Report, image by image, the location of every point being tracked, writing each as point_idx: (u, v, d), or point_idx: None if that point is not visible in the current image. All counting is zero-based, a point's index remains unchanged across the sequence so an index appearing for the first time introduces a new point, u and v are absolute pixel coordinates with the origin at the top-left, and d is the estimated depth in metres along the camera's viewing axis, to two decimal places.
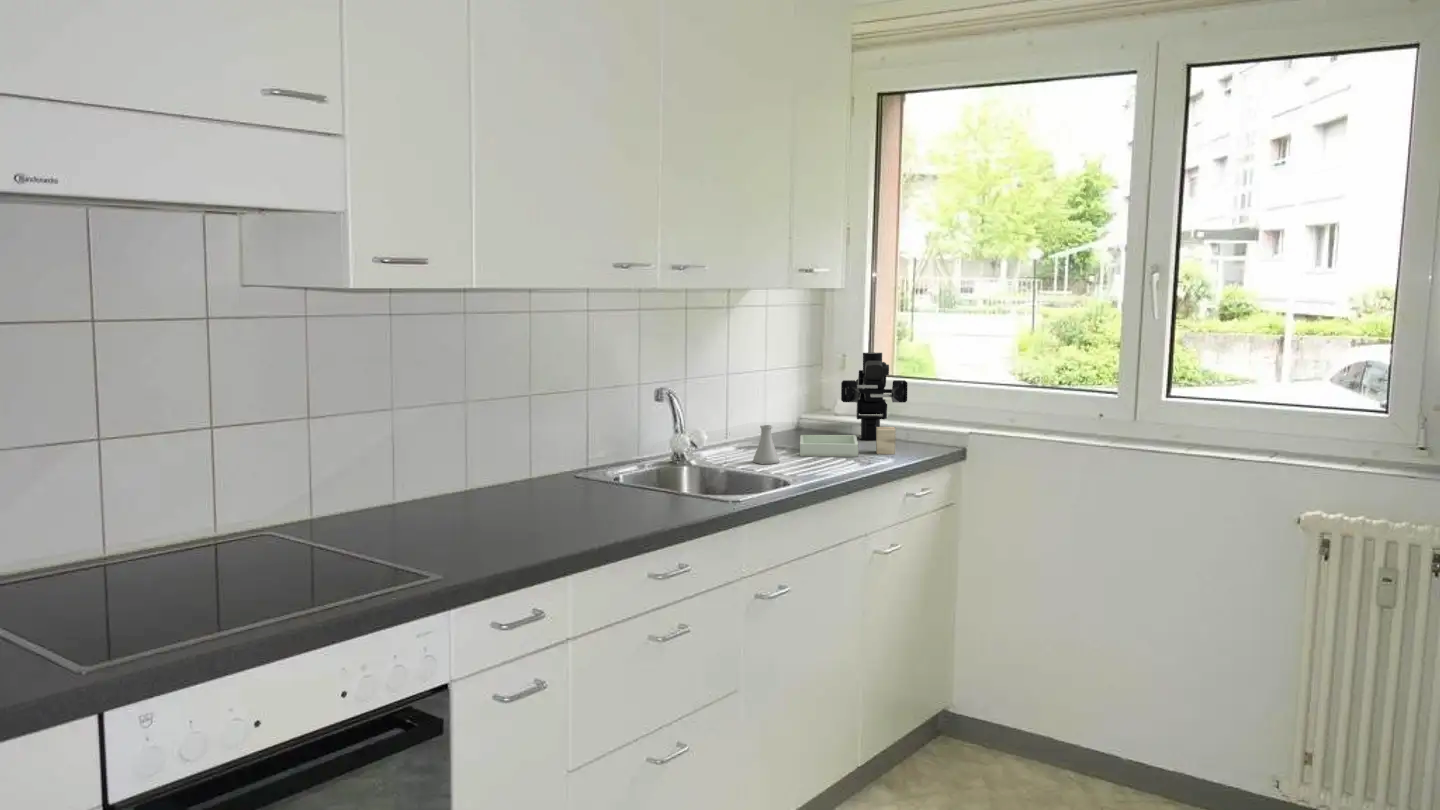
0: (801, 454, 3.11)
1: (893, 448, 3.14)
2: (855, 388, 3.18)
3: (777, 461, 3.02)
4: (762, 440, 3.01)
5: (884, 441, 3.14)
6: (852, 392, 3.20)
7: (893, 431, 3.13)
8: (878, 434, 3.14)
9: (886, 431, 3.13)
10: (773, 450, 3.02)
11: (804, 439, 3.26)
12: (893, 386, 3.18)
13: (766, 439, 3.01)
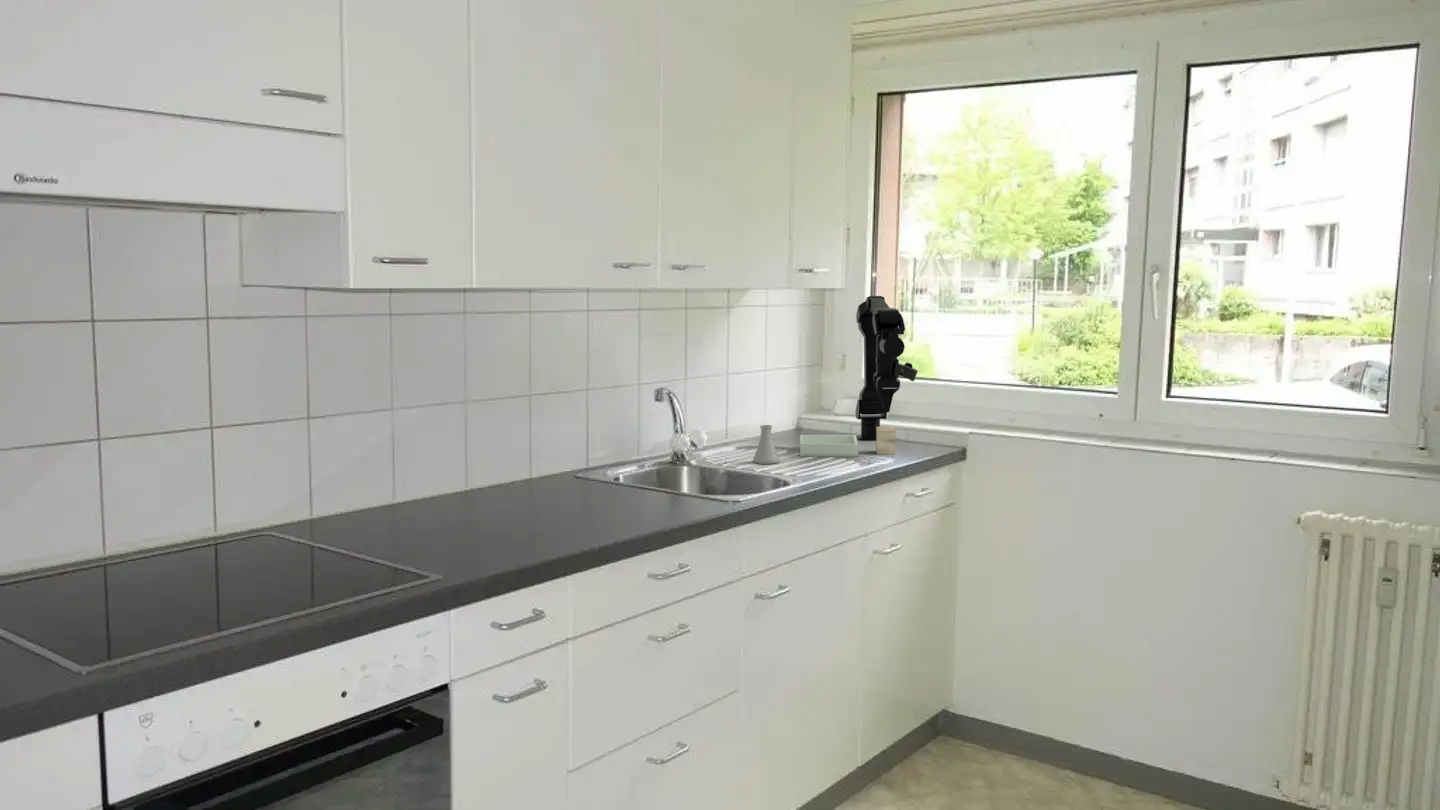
0: (801, 454, 3.11)
1: (893, 448, 3.14)
2: (892, 397, 3.09)
3: (777, 461, 3.02)
4: (762, 440, 3.01)
5: (884, 441, 3.14)
6: None
7: (893, 431, 3.13)
8: (878, 434, 3.14)
9: (886, 431, 3.13)
10: (773, 450, 3.02)
11: (804, 439, 3.26)
12: None
13: (766, 439, 3.01)
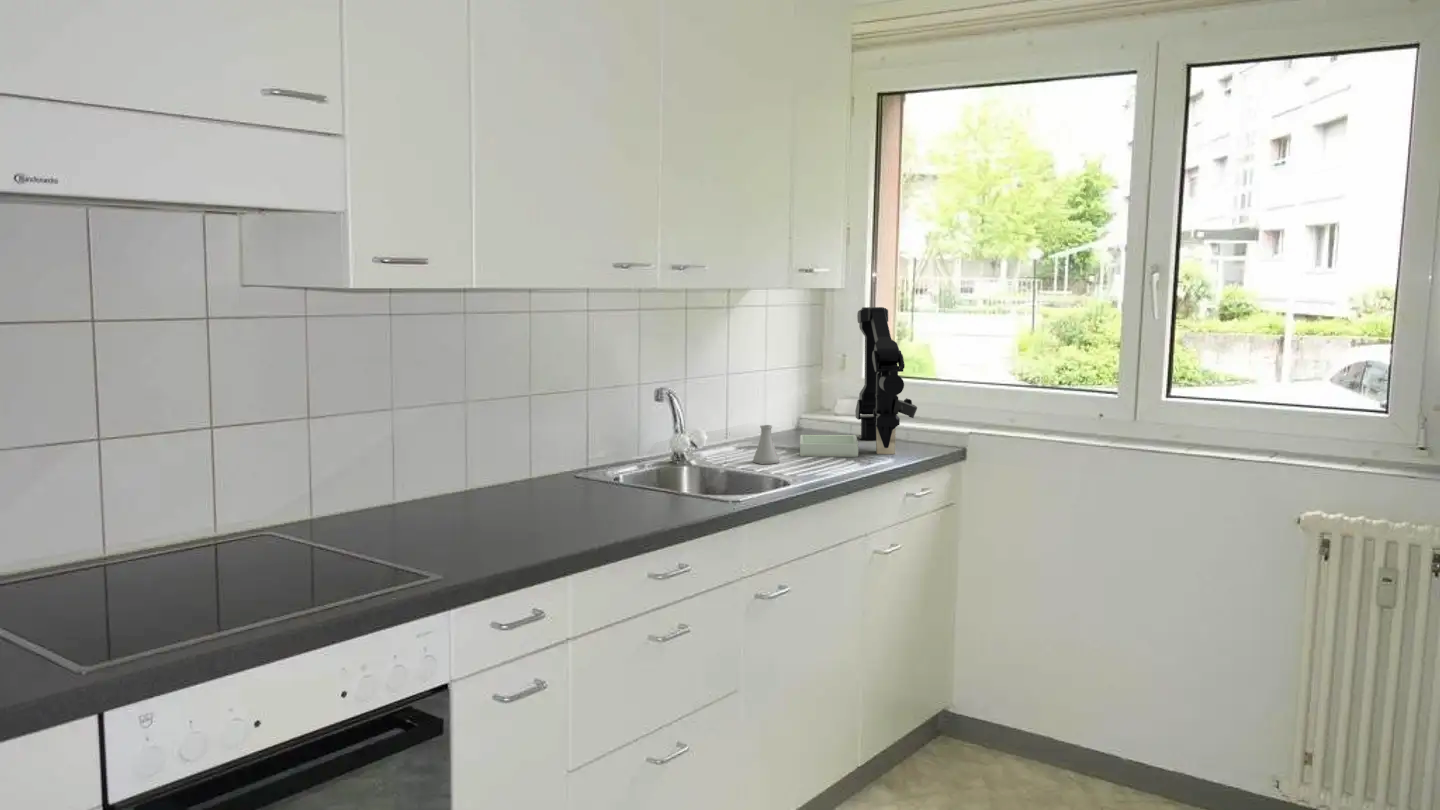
0: (801, 454, 3.11)
1: (893, 448, 3.14)
2: (891, 433, 3.12)
3: (777, 461, 3.02)
4: (762, 440, 3.01)
5: None
6: None
7: (893, 431, 3.13)
8: (878, 434, 3.14)
9: None
10: (773, 450, 3.02)
11: (804, 439, 3.26)
12: None
13: (766, 439, 3.01)
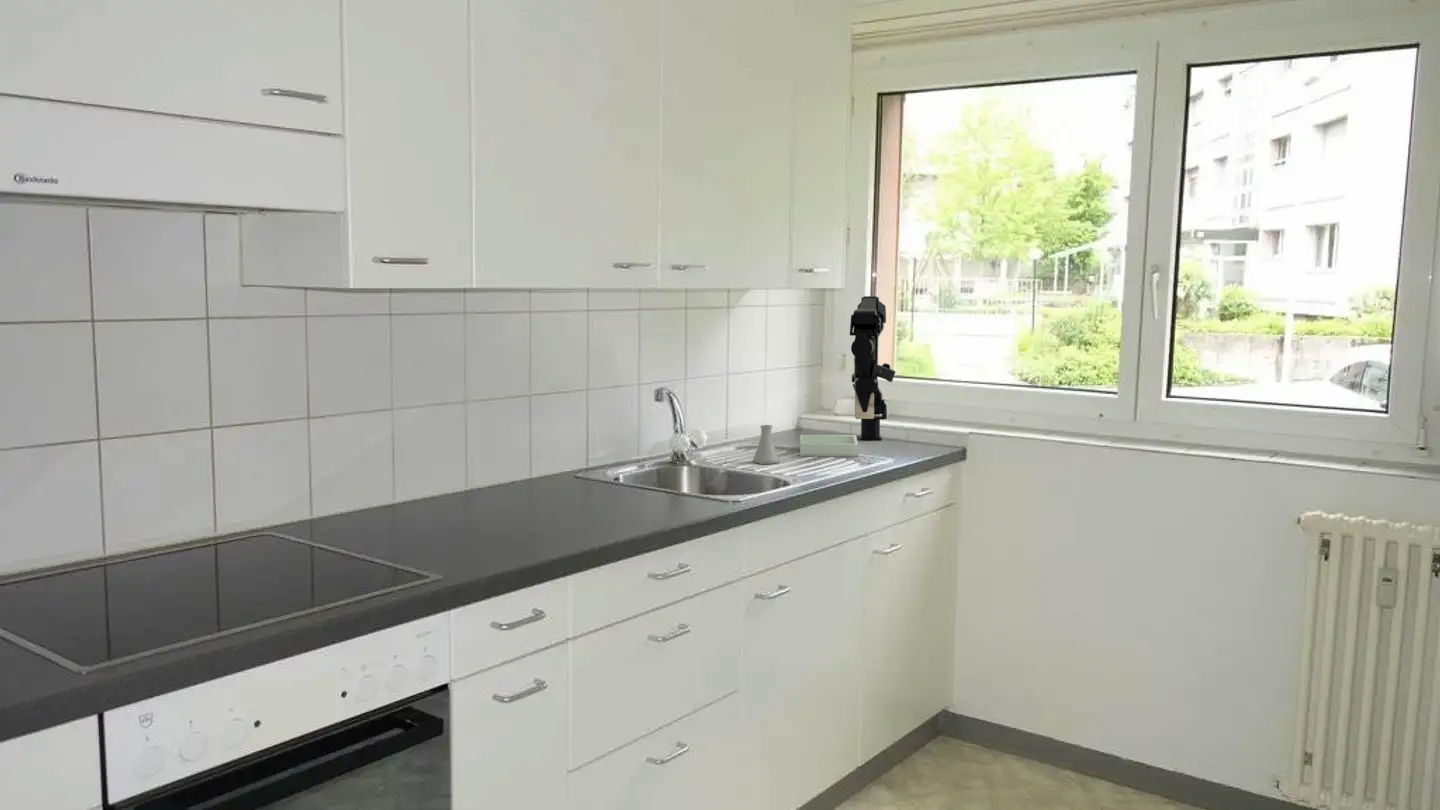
0: (801, 454, 3.11)
1: (872, 412, 3.13)
2: (869, 397, 3.12)
3: (777, 461, 3.02)
4: (762, 440, 3.01)
5: None
6: None
7: (872, 395, 3.13)
8: (857, 398, 3.13)
9: None
10: (773, 450, 3.02)
11: (804, 439, 3.26)
12: None
13: (766, 439, 3.01)
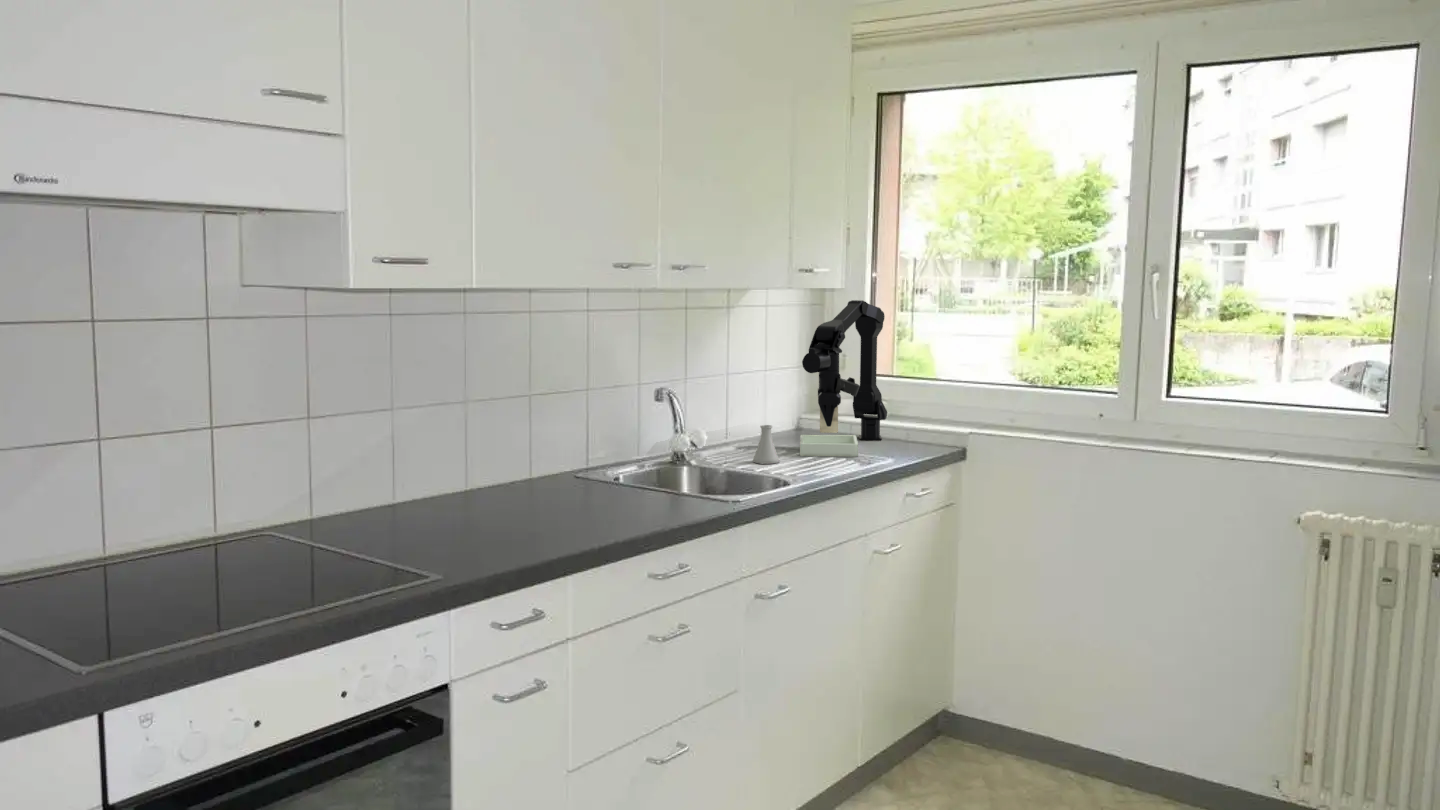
0: (801, 454, 3.11)
1: (836, 426, 3.15)
2: (833, 412, 3.14)
3: (777, 461, 3.02)
4: (762, 440, 3.01)
5: None
6: (828, 404, 3.13)
7: (835, 409, 3.15)
8: (821, 412, 3.15)
9: None
10: (773, 450, 3.02)
11: (804, 439, 3.26)
12: None
13: (766, 439, 3.01)
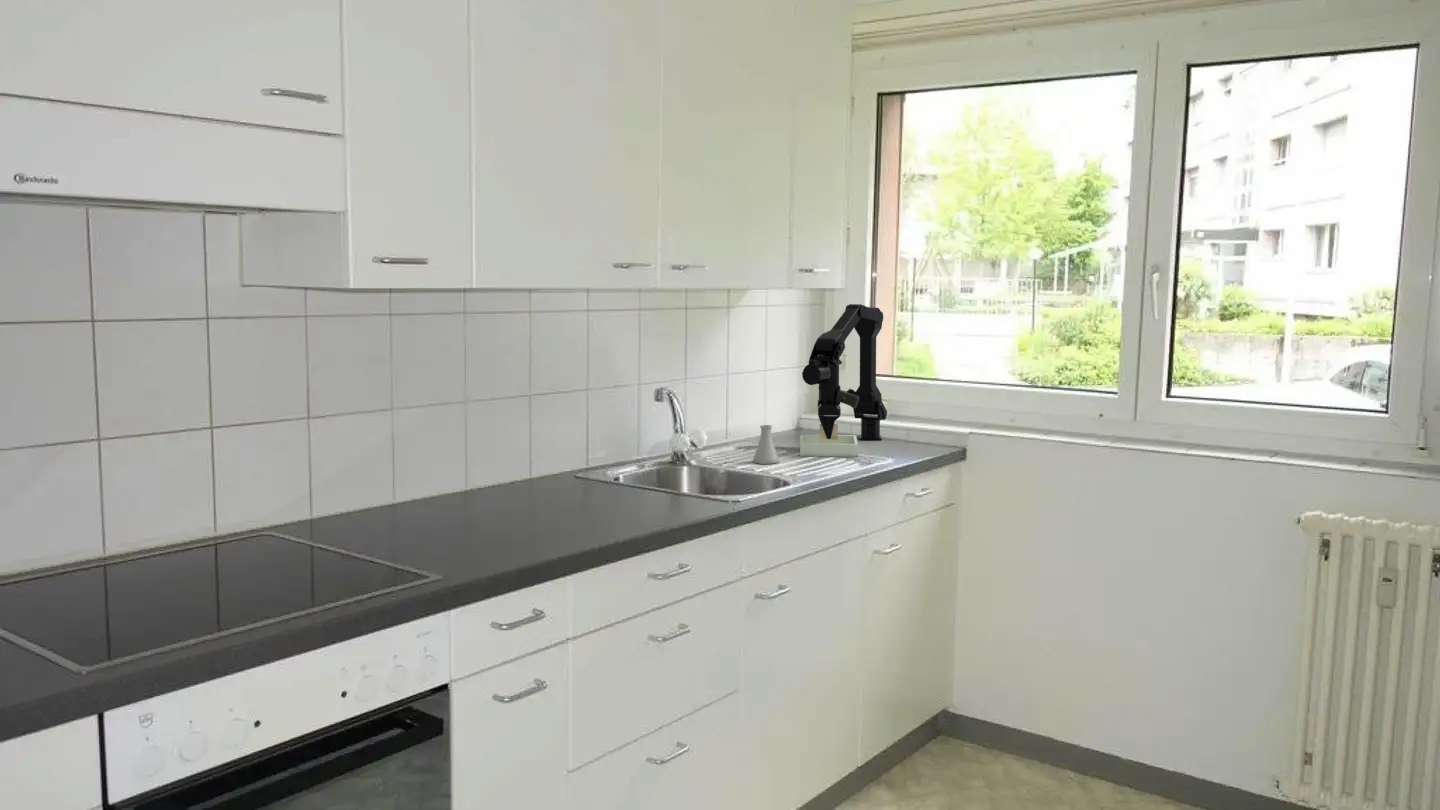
0: (801, 454, 3.11)
1: None
2: (833, 424, 3.12)
3: (777, 461, 3.02)
4: (762, 440, 3.01)
5: (826, 438, 3.16)
6: None
7: (835, 428, 3.15)
8: (821, 431, 3.16)
9: None
10: (773, 450, 3.02)
11: (804, 439, 3.26)
12: None
13: (766, 439, 3.01)
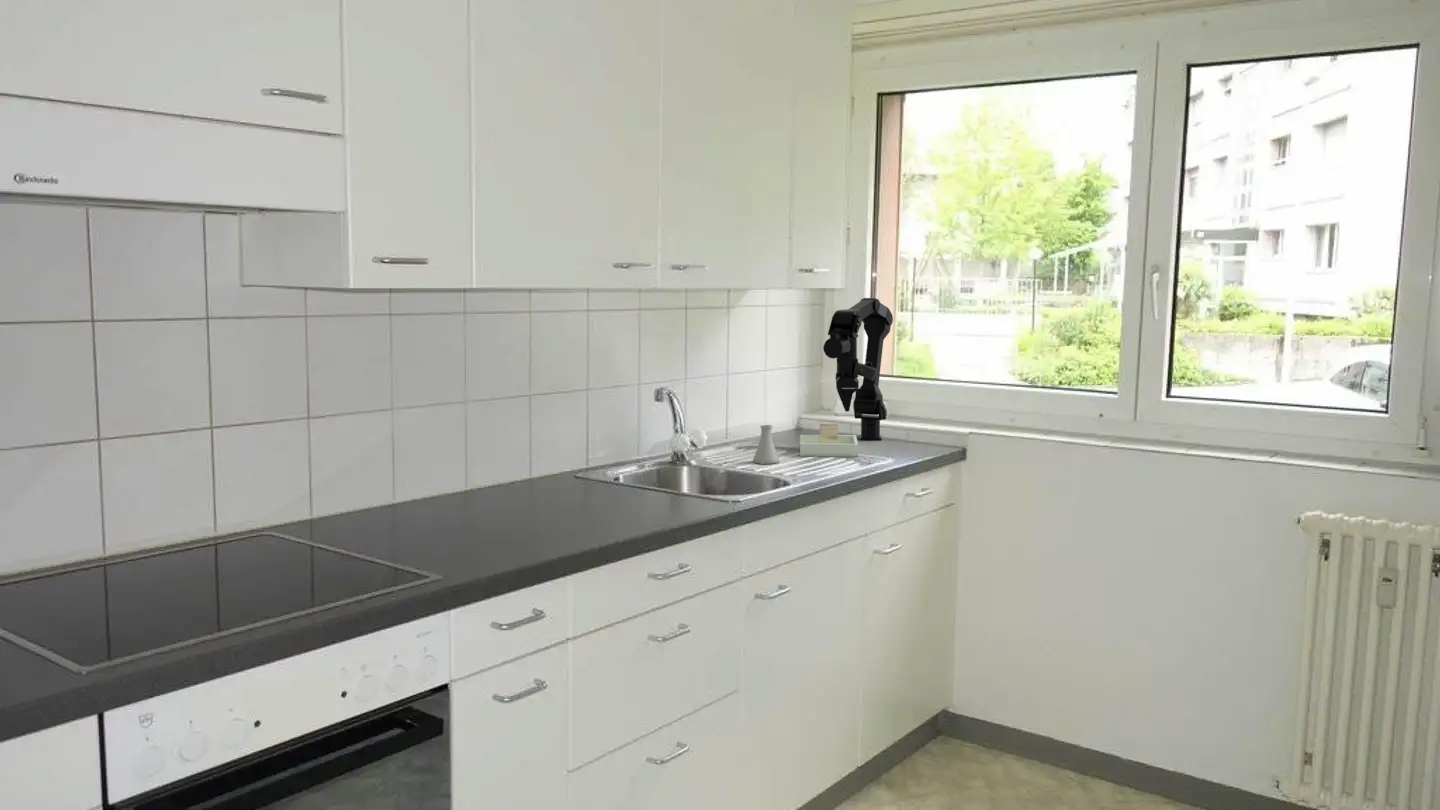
0: (801, 454, 3.11)
1: None
2: (851, 397, 3.16)
3: (777, 461, 3.02)
4: (762, 440, 3.01)
5: (826, 438, 3.16)
6: None
7: (835, 428, 3.15)
8: (821, 431, 3.16)
9: (829, 427, 3.15)
10: (773, 450, 3.02)
11: (804, 439, 3.26)
12: None
13: (766, 439, 3.01)
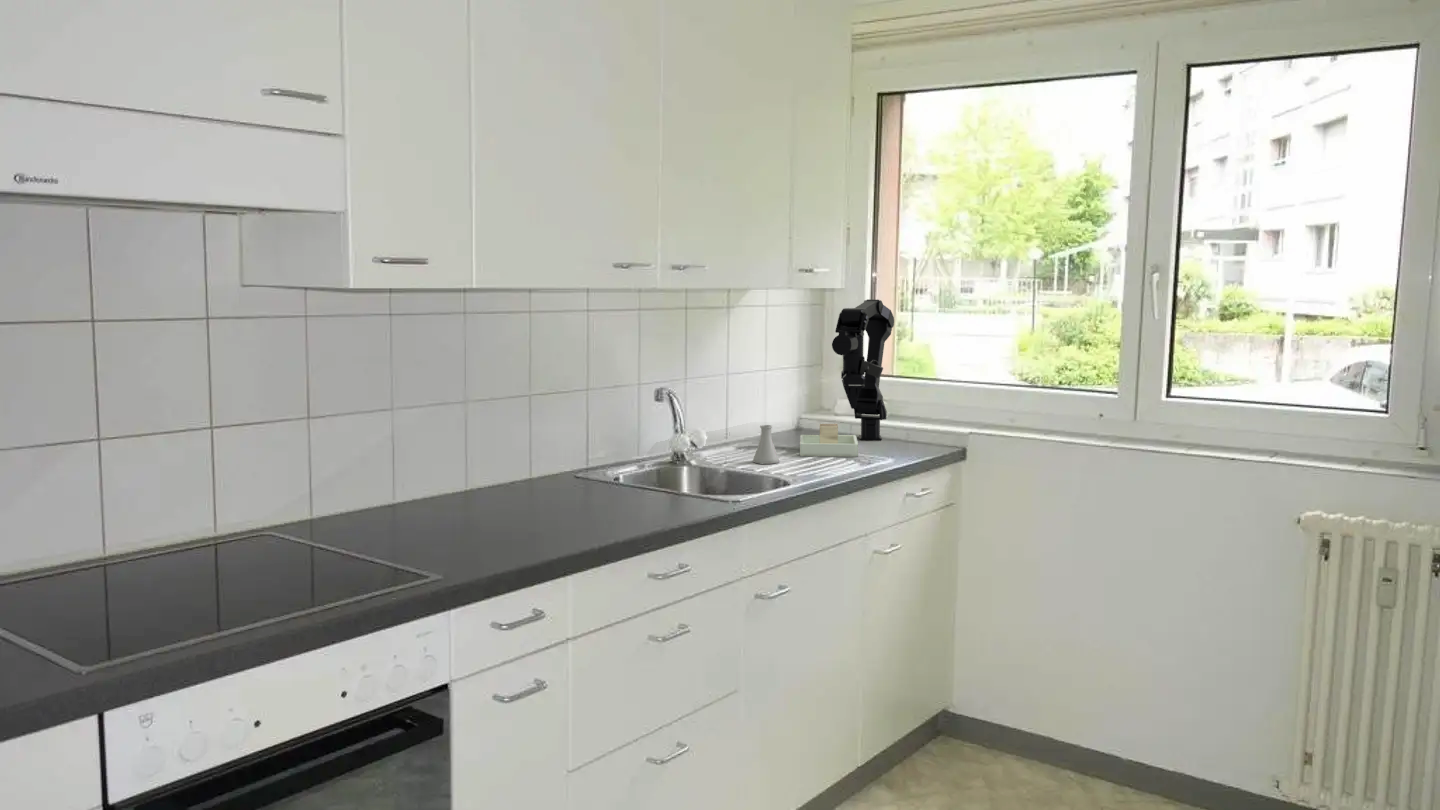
0: (801, 454, 3.11)
1: None
2: (858, 394, 3.18)
3: (777, 461, 3.02)
4: (762, 440, 3.01)
5: (826, 438, 3.16)
6: (853, 386, 3.17)
7: (835, 428, 3.15)
8: (821, 431, 3.16)
9: (829, 427, 3.15)
10: (773, 450, 3.02)
11: (804, 439, 3.26)
12: None
13: (766, 439, 3.01)
